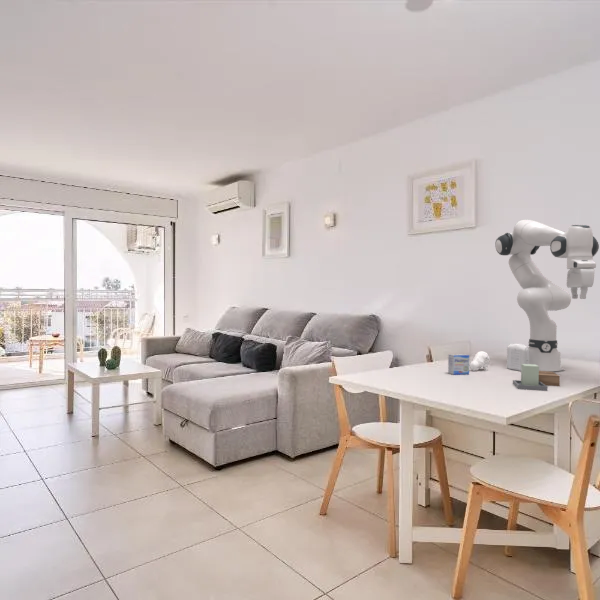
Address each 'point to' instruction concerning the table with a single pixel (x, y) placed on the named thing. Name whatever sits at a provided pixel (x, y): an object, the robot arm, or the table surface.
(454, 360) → the medicine box
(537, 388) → the charcoal tray
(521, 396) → the table surface
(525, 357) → the white upright block
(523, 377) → the plug block
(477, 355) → the white lumpy piece
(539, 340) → the robot arm
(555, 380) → the walnut stand
